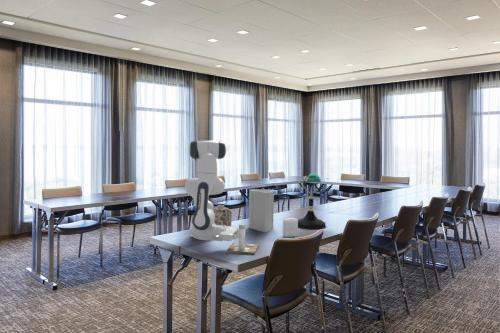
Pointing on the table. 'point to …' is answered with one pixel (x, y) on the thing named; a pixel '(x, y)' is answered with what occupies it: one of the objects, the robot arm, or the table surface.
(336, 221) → the table surface
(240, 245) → the marker
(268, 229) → the paper bag
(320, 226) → the banker's lamp
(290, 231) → the photo printer
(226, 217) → the decorative jar
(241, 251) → the picture board
